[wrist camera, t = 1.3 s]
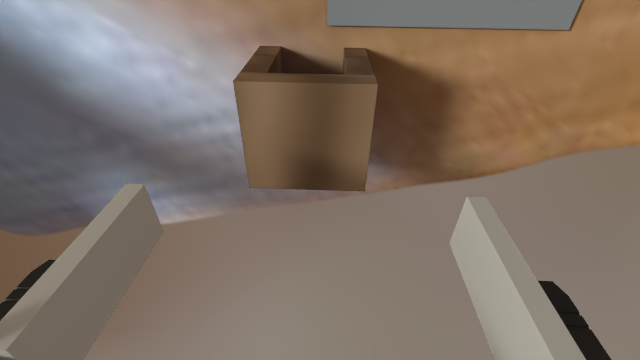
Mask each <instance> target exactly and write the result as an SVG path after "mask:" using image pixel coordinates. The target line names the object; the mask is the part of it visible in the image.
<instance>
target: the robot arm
mask: <svg viewBox="0 0 640 360" xmlns="http://www.w3.org/2000/svg"><path fill="white" fill-rule="evenodd" d="M162 233H163V229H162V227H161V224H160V222H159V219H158V217H157V214H156V212H155V209H154V207H153V204H152V202H151V199H150V197H149V195H148V192H147V190H146V187H145V185H144V184H125V185H124V186H123V188H122V189H121V190H120V191H119V192H118V193H117V194H116V195H115V196H114V197H113V198H112V200H111V201H110V202H109V203H108V204H107V205H106V206H105V207H104V208H103V209H102V210H101V212H100V213H99V214H98V215H97V216H96V217H95V218H94V219H93V220H92V221H91V222H90V224H89V225H88V226H87V227H86V228H85V229H84V230H83V231H82V232H81V233H80V234H79V236H78V237H77V238H76V239H75V240H74V241H73V242H72V243H71V244H70V246H69V247H68V248H67V249H66V250H65V251H64V252H63V253H62V254H61V255H60V256H59V257H58V259H57V260H48V261H47V262H45V263H44V264H42V265H41V266H39V267H38V268H37V269H35V270H33V271H32V272H31V273H30V274H29V275H28V276H27V277H26V278H25V279H24V280H23V281H22V282H21V283H20V284H19V285H18V286H17V289H16V290H13V292H12V293H11V294H10V295H9V296H8V297H7V298H6V301H5V302H2V303H1V304H0V360H84V358H85V357H86V355H87V354H88V352H89V350H90V349H91V347H92V345H93V344H94V342H95V341H96V339H97V337H98V336H99V334H100V333H101V331H102V329H103V328H104V326H105V325H106V323H107V321H108V320H109V318H110V317H111V315H112V313H113V312H114V310H115V308H116V307H117V305H118V304H119V302H120V301H121V299H122V297H123V296H124V294H125V293H126V291H127V289H128V288H129V286H130V285H131V283H132V281H133V280H134V278H135V277H136V275H137V273H138V272H139V270H140V269H141V267H142V265H143V264H144V262H145V260H146V259H147V257H148V256H149V254H150V252H151V251H152V249H153V248H154V246H155V244H156V243H157V241H158V240H159V238H160V236H161V235H162ZM449 244H450V247H451V249H452V252H453V255H454V257H455V260H456V262H457V265H458V267H459V270H460V273H461V275H462V277H463V281H464V283H465V286H466V288H467V291H468V294H469V296H470V298H471V301H472V304H473V306H474V309H475V312H476V314H477V317H478V319H479V322H480V325H481V327H482V330H483V332H484V335H485V337H486V340H487V343H488V345H489V348H490V351H491V353H492V356H493V358H494V360H611V359H610V357H609V356H608V354H607V353H606V351H605V350H604V348H603V347H602V345H601V344H600V342H599V341H598V339H597V338H596V336H595V335H594V333H593V332H592V330H590V329H589V328H588V327H589V326H588V324H587V323H586V321H585V320H584V318H583V317H582V316H580V315H579V311H578V310H577V308H576V307H575V305H574V304H573V302H572V301H571V299H570V298H569V296H568V295H567V294H566V293H564V292H563V291H562V290H561V289H560V288H559V287H558V286H557V285H556V284H554V283H553V282H551V281H538V280H537V279H536V277H535V275H534V274H533V272H532V271H531V269H530V268H529V266H528V264H527V262H526V261H525V259H524V258H523V256H522V254H521V253H520V251H519V250H518V248H517V246H516V244H515V243H514V241H513V240H512V238H511V236H510V235H509V233H508V232H507V230H506V228H505V226H504V225H503V223H502V222H501V220H500V219H499V217H498V215H497V214H496V212H495V211H494V209H493V207H492V205H491V204H490V202H489V200H488V199H487V197H477V196H467V197H466V200H465V203H464V205H463V208H462V211H461V213H460V216H459V219H458V221H457V224H456V227H455V229H454V232H453V235H452V237H451V240H450V243H449Z"/></svg>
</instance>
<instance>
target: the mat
mask: <svg viewBox="0 0 640 360" xmlns="http://www.w3.org/2000/svg"><path fill="white" fill-rule="evenodd" d="M581 2H582V0H328V7H327V25H333V26H386V27H439V28H492V29H545V30H569V29H570V26H571V24H572V22H573V20H574V17H575V15H576V13H577V11H578V8H579V6H580V4H581Z"/></svg>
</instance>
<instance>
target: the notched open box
mask: <svg viewBox="0 0 640 360" xmlns="http://www.w3.org/2000/svg"><path fill="white" fill-rule="evenodd" d="M233 83H234V90H235V96H236V103H237V109H238V116H239V122H240V129H241V135H242V142H243V148H244V155H245V161H246V167H247V174H248V180H249V187H250V188H271V189H306V190H341V191H365V186H366V178H367V169H368V161H369V153H370V145H371V137H372V129H373V121H374V113H375V105H376V97H377V89H378V83H377V80H376V77H375V74H374V72H373V69H372V66H371V63H370V60H369V57H368V54H367V51H366V49H365V48H344V61H343V74H297V73H283V71H282V54H281V46H260V47H259V48H258V49H257V51H256V52H255V53H254V55H253V56H252V57H251V59H250V60H249V61H248V63H247V64H246V65H245V66H244V68H243V69H242V70H241V72H240V73H239V74H238V76H237V77H236V78H235V80H234V81H233Z"/></svg>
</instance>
